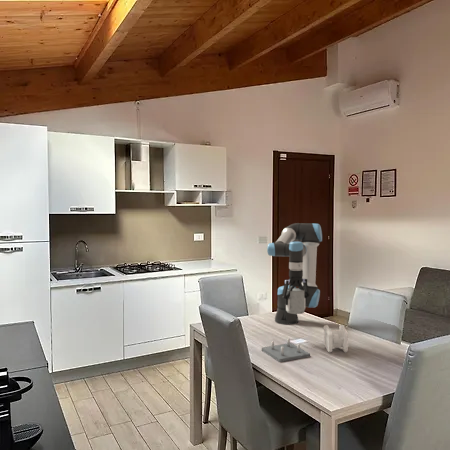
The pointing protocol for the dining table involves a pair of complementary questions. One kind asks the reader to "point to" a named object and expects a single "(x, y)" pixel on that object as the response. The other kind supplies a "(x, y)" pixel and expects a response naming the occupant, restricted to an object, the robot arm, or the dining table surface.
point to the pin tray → (285, 351)
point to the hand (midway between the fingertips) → (295, 309)
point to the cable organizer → (335, 338)
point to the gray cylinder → (296, 301)
